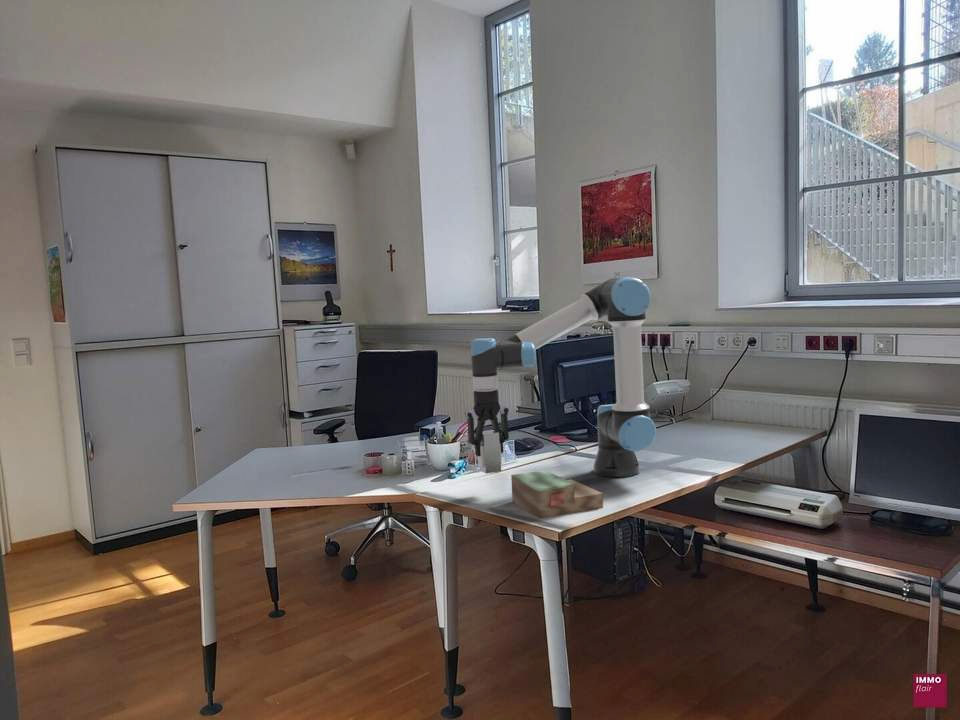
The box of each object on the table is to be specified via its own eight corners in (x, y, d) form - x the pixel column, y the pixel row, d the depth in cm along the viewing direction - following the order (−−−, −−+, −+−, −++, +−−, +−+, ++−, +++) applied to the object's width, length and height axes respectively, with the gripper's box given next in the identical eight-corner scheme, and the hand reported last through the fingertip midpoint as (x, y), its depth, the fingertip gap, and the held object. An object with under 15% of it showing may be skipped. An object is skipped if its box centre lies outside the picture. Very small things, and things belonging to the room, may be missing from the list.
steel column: (494, 467, 226) (492, 429, 224) (501, 471, 221) (498, 432, 220) (479, 470, 224) (477, 431, 223) (485, 473, 219) (483, 434, 218)
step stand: (572, 492, 222) (571, 466, 221) (604, 507, 205) (603, 479, 204) (512, 501, 215) (511, 474, 214) (540, 518, 198) (539, 489, 197)
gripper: (508, 385, 227) (512, 458, 229) (453, 391, 220) (458, 466, 222) (518, 387, 220) (522, 463, 222) (461, 394, 213) (466, 471, 216)
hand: (490, 464), depth 222 cm, fingers closed on steel column, 5 cm apart
